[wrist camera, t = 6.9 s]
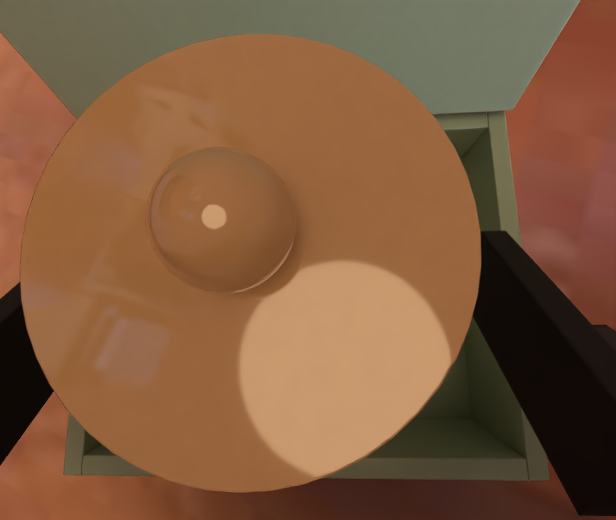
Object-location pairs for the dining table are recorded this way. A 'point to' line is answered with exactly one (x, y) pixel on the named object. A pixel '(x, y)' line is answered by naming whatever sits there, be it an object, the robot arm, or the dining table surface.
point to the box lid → (301, 23)
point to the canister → (250, 263)
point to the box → (457, 384)
